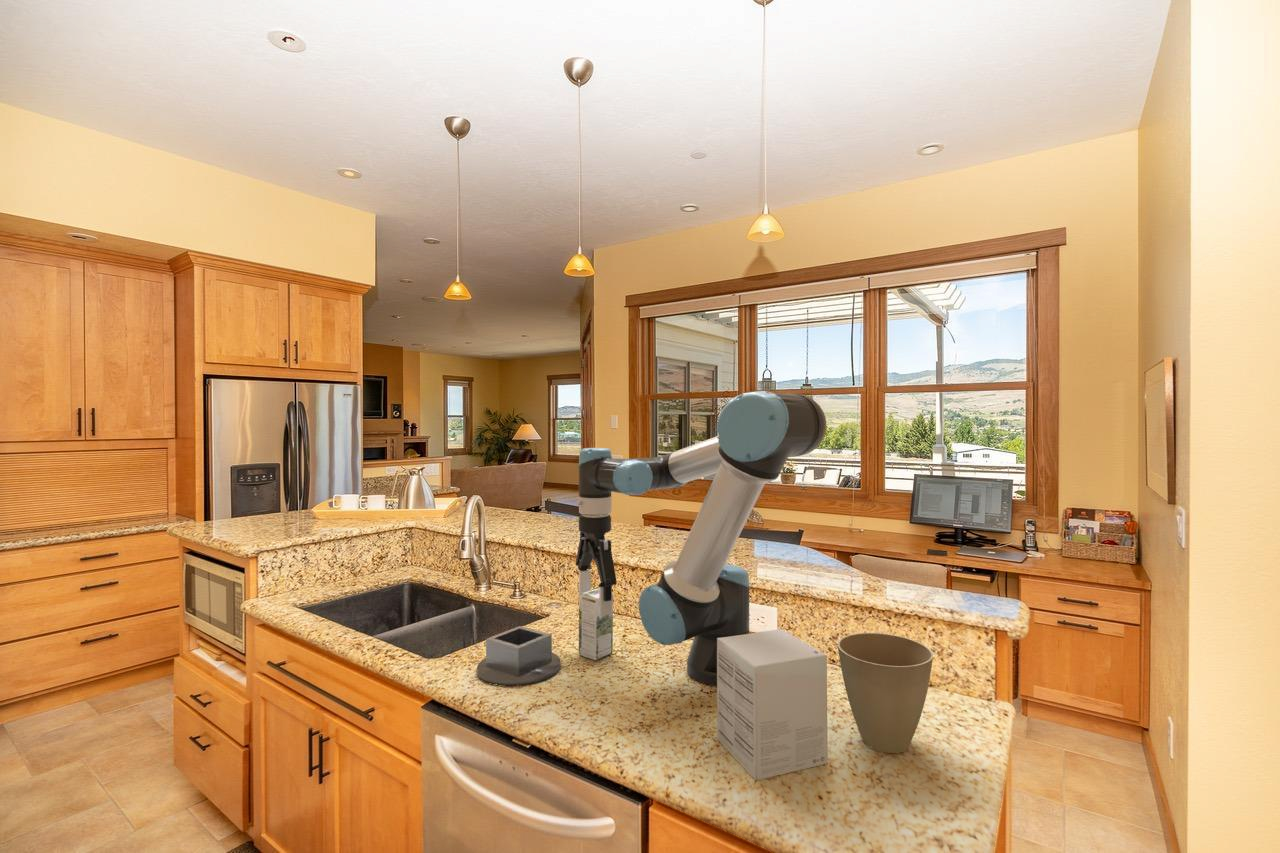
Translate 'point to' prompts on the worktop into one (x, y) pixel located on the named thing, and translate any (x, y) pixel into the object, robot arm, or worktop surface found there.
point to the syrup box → (594, 627)
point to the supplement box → (772, 702)
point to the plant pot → (885, 686)
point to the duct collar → (518, 658)
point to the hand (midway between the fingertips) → (594, 605)
